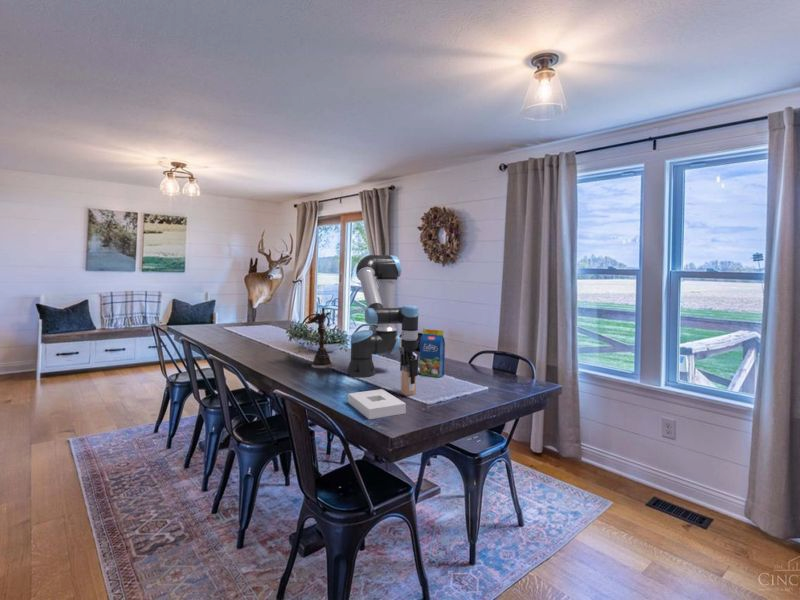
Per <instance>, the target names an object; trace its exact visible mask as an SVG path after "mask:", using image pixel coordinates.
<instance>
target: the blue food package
mask: <svg viewBox="0 0 800 600" xmlns="http://www.w3.org/2000/svg"><path fill="white" fill-rule="evenodd" d="M419 342H420V343H419V375H422V376H427V377H431V378H441V377H444V376H445V358H446V357H445V356H446V355H445V354H446V349H445V348H446V342H445V337H444V330H438V329H430V328H429V329H426V328H423V329H422V335H421V337H420V341H419Z"/></svg>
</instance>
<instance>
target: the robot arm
mask: <svg viewBox="0 0 800 600" xmlns="http://www.w3.org/2000/svg"><path fill="white" fill-rule="evenodd" d="M355 273H356V274H355V275H356V278H357V279H358V280H359V281H360V284H361V288H362V289H361V290H362V293H363V296H364V301H365V304H366V305H365V306H366V309H364V322H365V323H366V325H378V326H377V328H375V332H373V331H372V330H370V329H369V330H367V329H366V330H358V331H355V332H352V334H351V336H350V361H349V364H348V366H347V371H346V372H347V374H346V375H348V376H350V377H355V378H364V377H365V378H367V377H373V376H375V375H376V368H375V365H374V362H373V355H386V354H387V355H391V354H395V353H397V352H398V351H399V352H400V359H399V361H400V362H399V364H400V366H399V368H400V369H399V371H400V372H401V370H402V365H409V372H410V376H409V391H413V390H414V388H415V376H416V377H418V376H419V359H420V354H416V349H417V348H418V346H419V345H418V343H419V342H418V338H419V332H418V331H419V307H418V306H417V305H412V304H411V305H410V304H409V305H408V304H406V305H403V306H399V307H395V288H396V287H395V283H396V282H397V281H398V278H399V277H401V275H402V264H401V260H400V259H399V257H398V256H396V255H390V254H389V255H388V254H369V255H366V256H364V257H362V258H361V259H360V260H359V262H358V263H357V266H356V270H355ZM377 282H378V286H377ZM396 324H400V325H401V333H399V332H398V329H397V328H396V327H395V325H396ZM400 334H401V335H400ZM400 345H401V346H400ZM400 347H401V348H403V349H401V350H399V349H400Z"/></svg>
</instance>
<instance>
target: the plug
mask: <svg viewBox="0 0 800 600" xmlns="http://www.w3.org/2000/svg"><path fill="white" fill-rule="evenodd" d="M400 372H401V376H400V377H401V378H400V379H401V380H400V381H401V383H400V387H401V388H400V394H403V395H404V394H405V396H406V395H407V396H412V395H411V394H414V395H416V394H417V391H416V390H417V376H415V388H414V390H413V391H409V376H410V372H409V365H402V370H401V371H400Z"/></svg>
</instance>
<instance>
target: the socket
mask: <svg viewBox="0 0 800 600" xmlns="http://www.w3.org/2000/svg"><path fill="white" fill-rule="evenodd" d="M347 396H348V398H347V401H348V403H349V405H350V406H352V407H353V408H354V409H355V410H357V411H358V412H359V413H360V414H362V415H363V416H365V418H367V419H368V420H374V419H380V418H386V417H392V416H398V415H404V414H406V413H407V403H406V402H404V401H403V400H401V399H399V398H398V397H396V396H395V395H392V394H391V393H389V392H387V391H386V390H384V389H382V388H379V389H372V390H365V391H359V392H357V391H356V392H350V393H348V395H347Z"/></svg>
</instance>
